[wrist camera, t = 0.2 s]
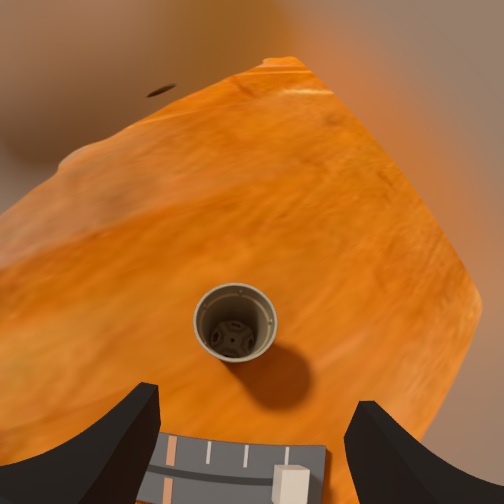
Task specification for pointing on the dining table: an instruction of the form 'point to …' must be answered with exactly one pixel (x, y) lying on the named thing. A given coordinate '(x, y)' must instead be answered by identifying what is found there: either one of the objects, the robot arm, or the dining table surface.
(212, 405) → the dining table surface
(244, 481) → the console
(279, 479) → the fader
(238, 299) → the flower pot
